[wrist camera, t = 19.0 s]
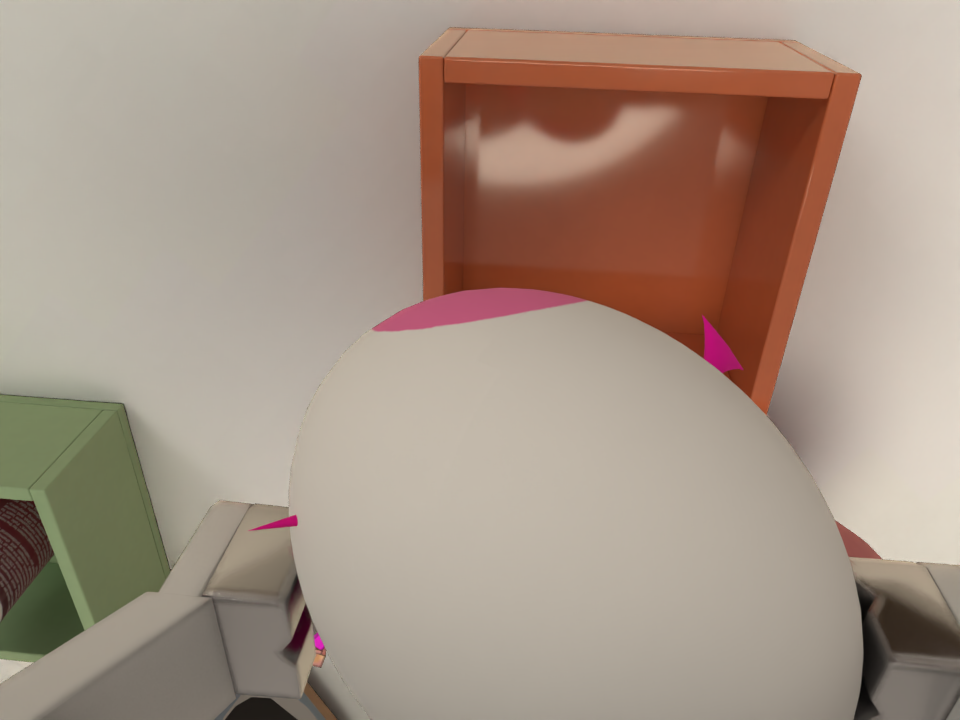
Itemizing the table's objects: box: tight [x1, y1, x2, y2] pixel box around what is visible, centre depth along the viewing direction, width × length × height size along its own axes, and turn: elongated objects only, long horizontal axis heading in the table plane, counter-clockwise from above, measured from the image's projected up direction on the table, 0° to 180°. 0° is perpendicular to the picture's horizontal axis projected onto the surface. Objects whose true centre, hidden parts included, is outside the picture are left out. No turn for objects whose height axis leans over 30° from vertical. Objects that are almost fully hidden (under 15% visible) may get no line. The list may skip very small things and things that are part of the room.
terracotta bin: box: [419, 27, 862, 416], centre depth 22 cm, size 10×10×6 cm
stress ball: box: [248, 288, 863, 720], centre depth 10 cm, size 8×8×7 cm
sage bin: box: [0, 395, 170, 662], centre depth 31 cm, size 10×10×6 cm
